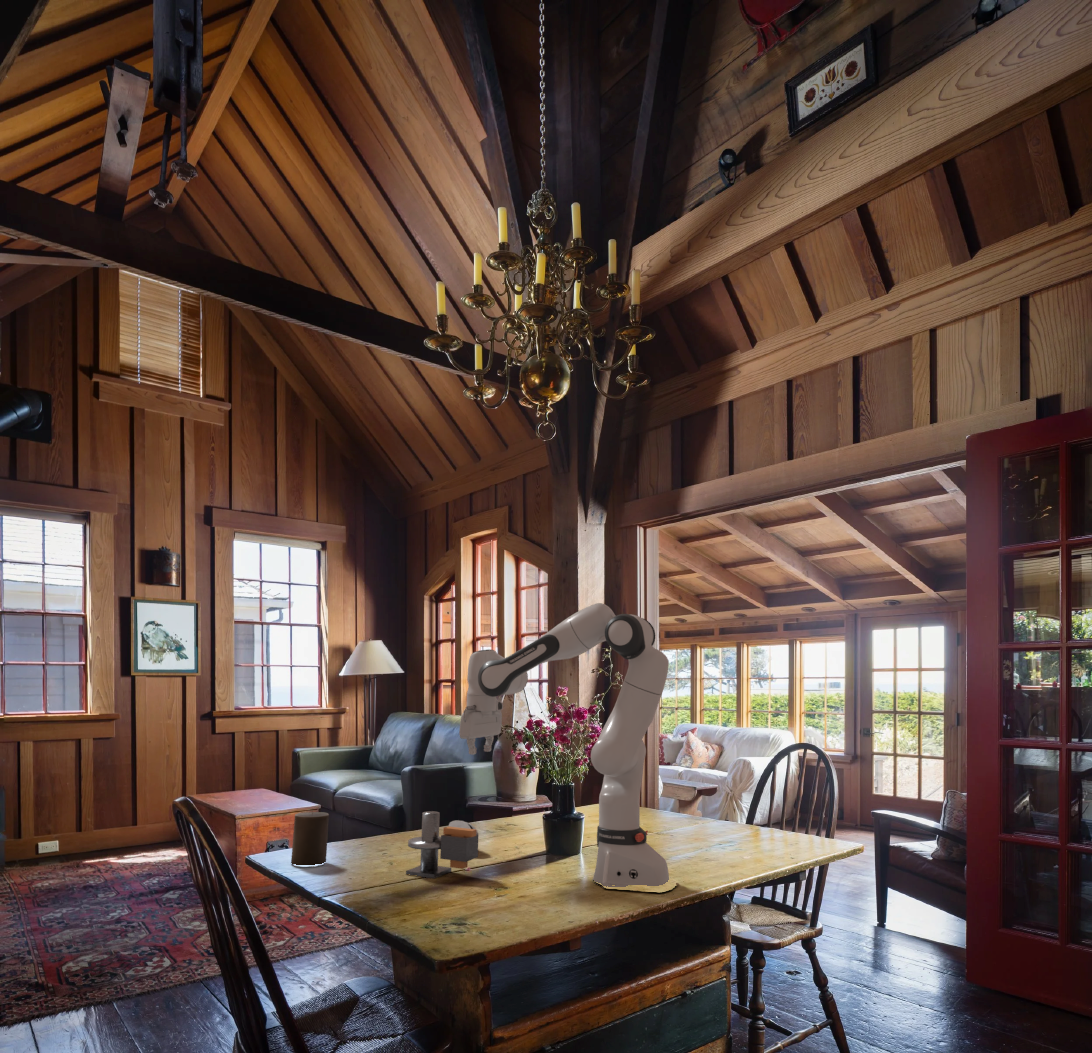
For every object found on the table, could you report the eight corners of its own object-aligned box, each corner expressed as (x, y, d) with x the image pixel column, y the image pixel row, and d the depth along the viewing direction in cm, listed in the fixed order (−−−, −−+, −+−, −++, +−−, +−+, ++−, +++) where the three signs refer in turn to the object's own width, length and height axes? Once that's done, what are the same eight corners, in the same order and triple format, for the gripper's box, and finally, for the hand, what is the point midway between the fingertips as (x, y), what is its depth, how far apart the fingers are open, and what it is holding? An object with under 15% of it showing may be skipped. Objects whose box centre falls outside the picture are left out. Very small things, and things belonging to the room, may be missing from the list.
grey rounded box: (436, 847, 264) (447, 815, 267) (449, 851, 266) (460, 819, 269) (457, 857, 250) (468, 824, 253) (471, 862, 252) (482, 828, 255)
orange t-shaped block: (475, 868, 227) (476, 829, 228) (470, 870, 224) (472, 831, 226) (447, 864, 230) (448, 826, 232) (442, 866, 228) (443, 828, 230)
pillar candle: (313, 869, 233) (317, 813, 236) (283, 865, 236) (287, 810, 239) (332, 862, 242) (336, 808, 245) (304, 859, 245) (307, 806, 248)
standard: (482, 874, 231) (483, 813, 233) (460, 884, 220) (462, 820, 223) (422, 866, 239) (424, 807, 241) (398, 875, 228) (400, 814, 231)
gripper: (474, 706, 237) (472, 756, 235) (505, 704, 256) (504, 750, 254) (454, 705, 240) (453, 755, 238) (487, 703, 258) (486, 749, 256)
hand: (480, 752), depth 246 cm, fingers open, 8 cm apart
